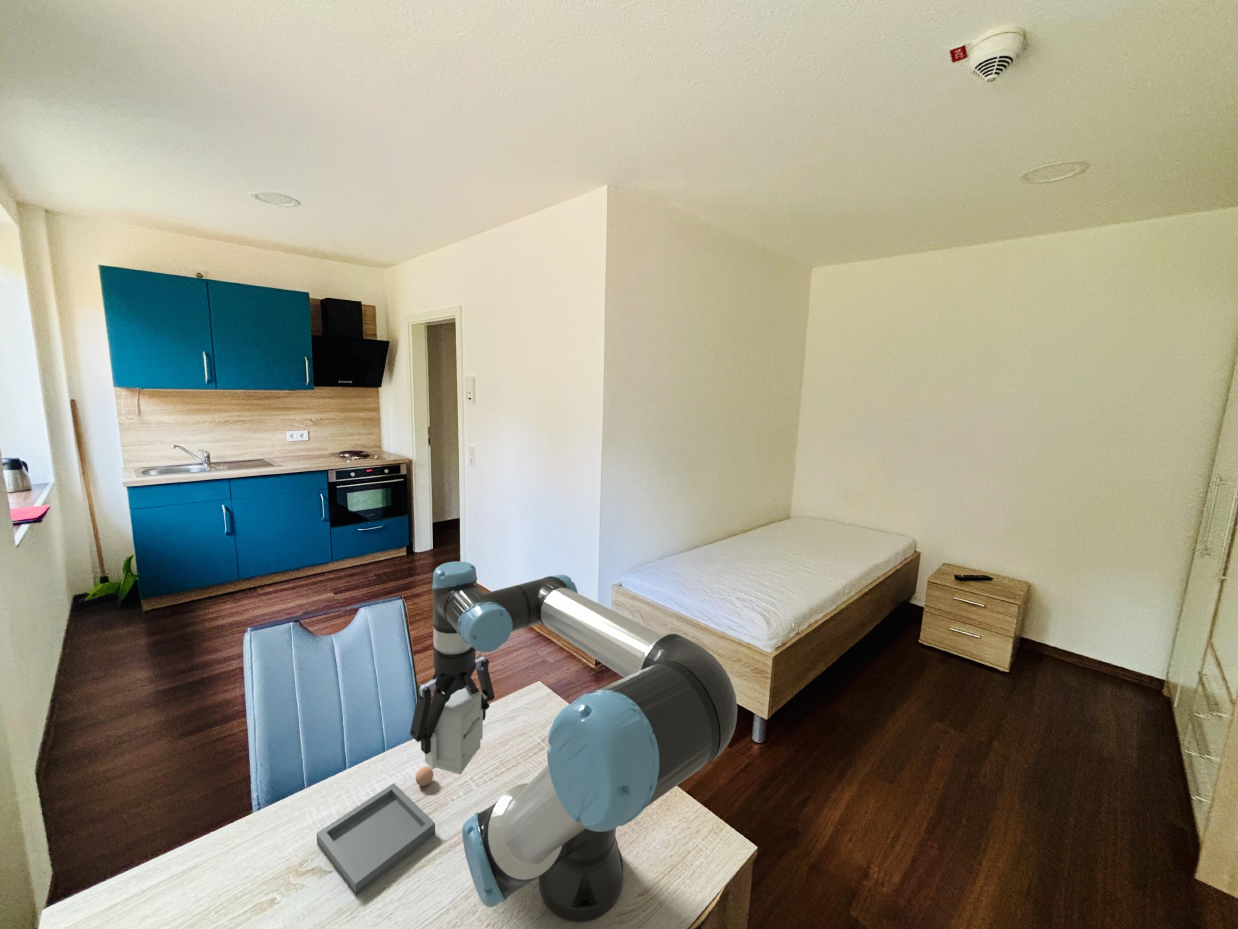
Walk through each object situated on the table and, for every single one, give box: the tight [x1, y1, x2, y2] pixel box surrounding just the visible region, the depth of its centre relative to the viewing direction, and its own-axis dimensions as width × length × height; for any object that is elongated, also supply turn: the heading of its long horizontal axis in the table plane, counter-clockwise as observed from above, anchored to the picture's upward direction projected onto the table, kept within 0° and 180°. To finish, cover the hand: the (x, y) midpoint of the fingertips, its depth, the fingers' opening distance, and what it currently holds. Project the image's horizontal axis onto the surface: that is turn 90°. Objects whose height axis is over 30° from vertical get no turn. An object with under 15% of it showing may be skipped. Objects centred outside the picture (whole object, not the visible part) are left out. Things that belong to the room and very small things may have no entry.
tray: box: [316, 782, 436, 897], centre depth 93 cm, size 15×15×2 cm
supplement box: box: [433, 688, 482, 775], centre depth 94 cm, size 7×7×13 cm
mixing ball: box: [415, 765, 434, 787], centre depth 106 cm, size 4×4×4 cm
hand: (454, 749), depth 95 cm, fingers closed on supplement box, 9 cm apart
